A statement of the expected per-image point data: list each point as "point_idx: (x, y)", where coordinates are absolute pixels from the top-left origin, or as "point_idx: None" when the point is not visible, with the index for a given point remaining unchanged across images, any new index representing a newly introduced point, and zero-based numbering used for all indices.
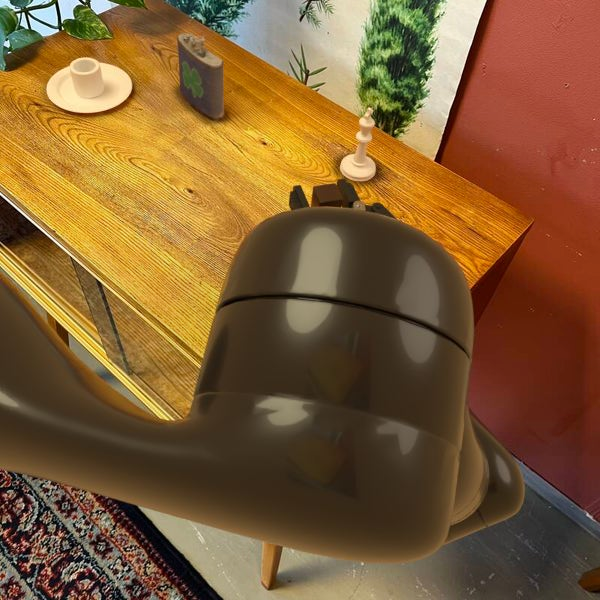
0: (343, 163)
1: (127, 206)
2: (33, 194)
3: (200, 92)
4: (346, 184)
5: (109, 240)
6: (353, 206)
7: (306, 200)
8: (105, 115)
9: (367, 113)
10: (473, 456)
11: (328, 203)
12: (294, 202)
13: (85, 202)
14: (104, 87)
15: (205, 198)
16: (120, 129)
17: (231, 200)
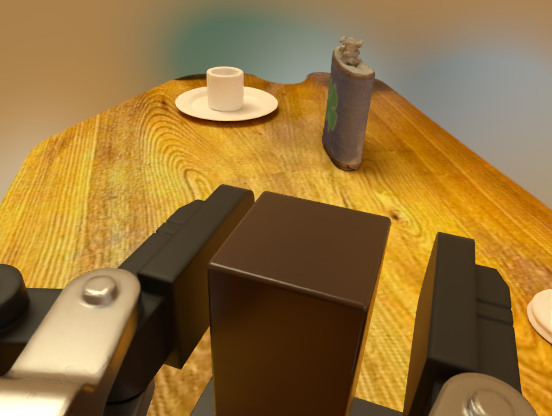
0: (539, 298)
1: (112, 214)
2: (40, 162)
3: (334, 122)
4: (467, 263)
5: (28, 244)
6: (436, 402)
7: (197, 243)
8: (215, 127)
9: None
10: None
11: (262, 296)
12: (159, 237)
13: (74, 190)
14: (243, 107)
15: None
16: (215, 142)
17: None
